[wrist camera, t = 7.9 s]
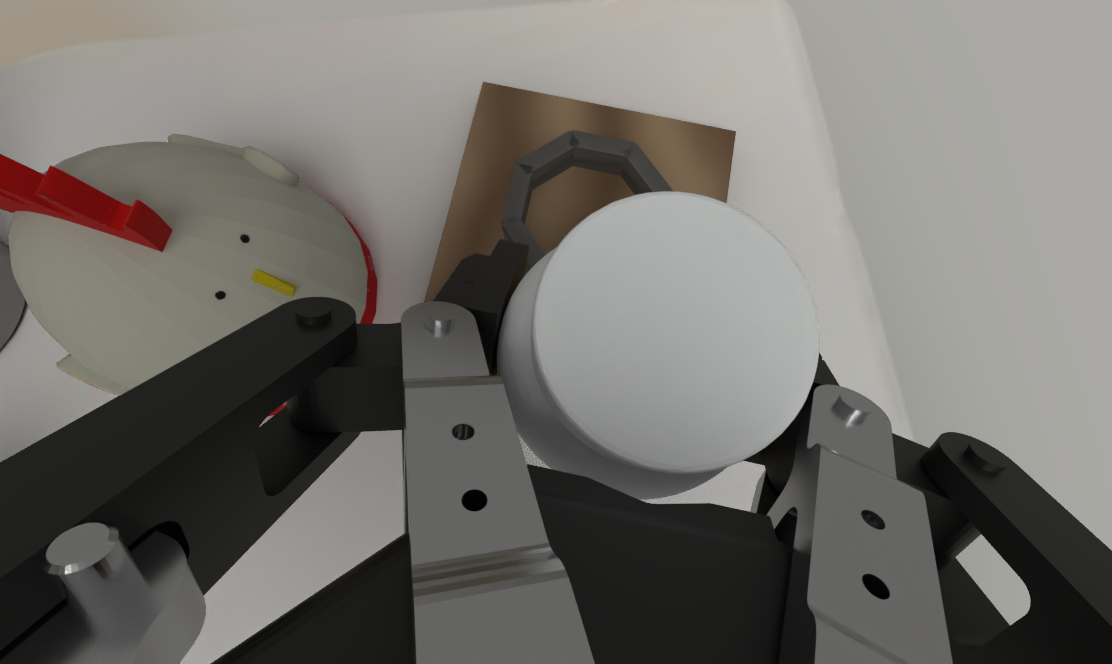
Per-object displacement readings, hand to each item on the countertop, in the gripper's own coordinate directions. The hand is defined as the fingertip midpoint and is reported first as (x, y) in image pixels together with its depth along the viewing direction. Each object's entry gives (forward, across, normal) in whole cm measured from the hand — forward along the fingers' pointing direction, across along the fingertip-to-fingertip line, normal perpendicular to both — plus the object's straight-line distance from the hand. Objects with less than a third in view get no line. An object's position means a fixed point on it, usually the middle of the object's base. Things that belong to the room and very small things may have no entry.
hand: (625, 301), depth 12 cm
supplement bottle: (+2, 0, +4) cm, 5 cm away
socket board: (+17, +1, +5) cm, 18 cm away
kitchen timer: (+12, +19, +11) cm, 25 cm away
